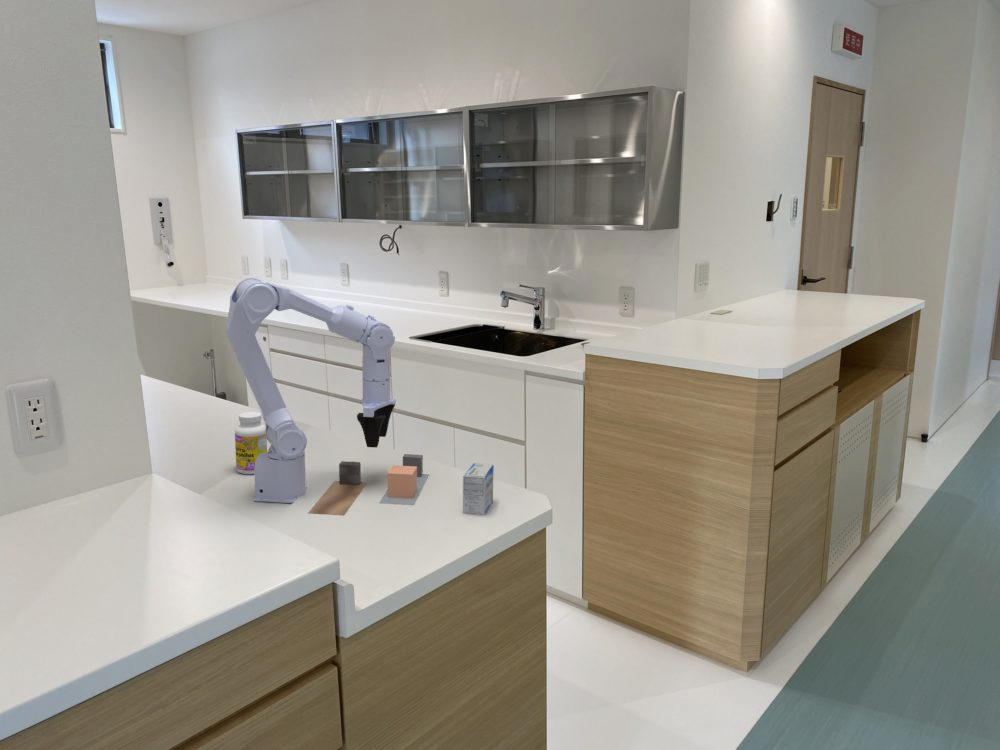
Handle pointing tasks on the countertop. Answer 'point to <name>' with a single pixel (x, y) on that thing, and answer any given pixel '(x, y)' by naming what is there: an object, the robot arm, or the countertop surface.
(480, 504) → the medicine box
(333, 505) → the walnut strip
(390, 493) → the terracotta block
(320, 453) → the countertop surface
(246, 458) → the supplement bottle
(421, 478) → the slate strip
